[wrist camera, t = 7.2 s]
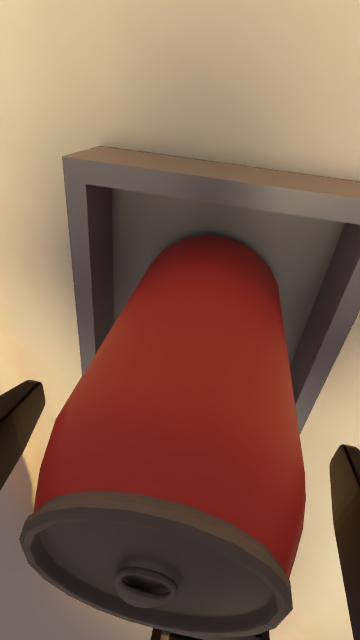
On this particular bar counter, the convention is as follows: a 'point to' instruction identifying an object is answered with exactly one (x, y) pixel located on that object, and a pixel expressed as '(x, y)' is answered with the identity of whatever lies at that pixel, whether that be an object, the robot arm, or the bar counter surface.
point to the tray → (221, 221)
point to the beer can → (180, 455)
